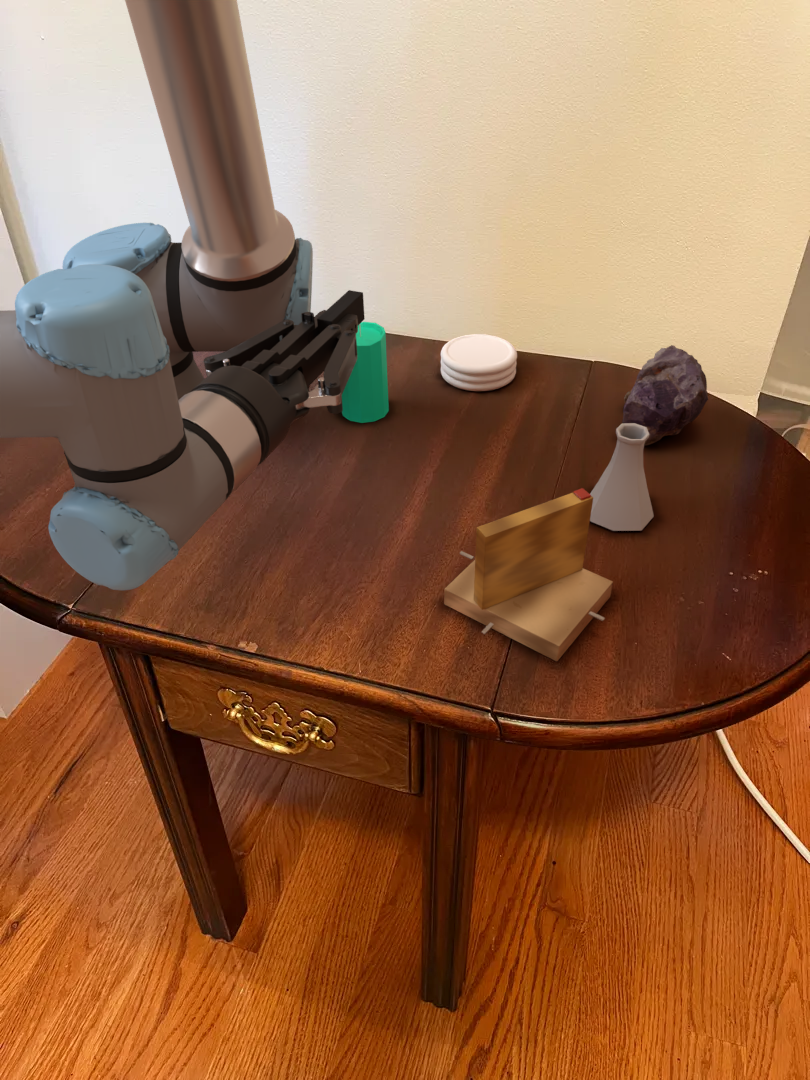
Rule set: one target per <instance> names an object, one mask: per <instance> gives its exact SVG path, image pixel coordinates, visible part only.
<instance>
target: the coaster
mask: <svg viewBox="0 0 810 1080" xmlns="http://www.w3.org/2000/svg"><path fill="white" fill-rule="evenodd" d="M517 359H518V351H517V349H516V347H515V346H514V345H513V344H512V343H511V342H510V341H508V340H507V339H504V338H503V337H501V336H497V335H493V334H485V333H473V334H464V335H460V336H457V337H454V338H452V339H450V340H448V342H446V343H445V344H444V345H443V346H442V348H441V350H440V374H441V376H442V378H443V380H444V381H445V382H447V383H448V384H449V385H451V386H452V387H454V388H457V389H459V390H465V391H469V392H489V391H494V390H498V389H500V388H503V387H505V386H507V385H508V384H510V383H511V382H512V381H513V380H514V379H515V377H516V374H517V365H518V363H517Z"/></svg>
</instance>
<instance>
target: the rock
mask: <svg viewBox="0 0 810 1080" xmlns="http://www.w3.org/2000/svg"><path fill="white" fill-rule="evenodd" d="M623 400H624V405H623V409H622V412H623V415H622V416H623V417H622V423H635V424H638V425H641V426H644V427H647V429H648V432H649V438H648V439H647V440H646V441H645V444H644V446H649V445H652V444H655V443H657V442H659V441H661V439H662V438H663V437H666V436H675V435H678V434H679V433H680V432H682V430H683V428H684V427H685V426H687V425H688V424H690V423H693V422H694V420H696V419H697V418H698V416H699V415H700V414H701V412H702V411H703V410H704V407H705V405H706V403H707V402H708V401H709V396H708V382H707V376H706V374H705V372H704V371H703V369H702V365H701V363H699V360H698V359H696V358H695V357H694V356H693V355H692V354H689V353H688V352H687V351H686V350H685V349H682V348H678V347H676V345H673V344H671V345H669V346H667V347H661V348H660V349H658V351H655V353H654V356H653V357H652V358H650V359H648V360H646V363H644V364H643V365H642V366H641V369H640V370H639V372H638V373H637V375H636V379H635V382H634V385H633V386H632V388H631V389H630V390H629V391H627V392H626V393H625V395H624V398H623ZM622 423H621V424H622Z"/></svg>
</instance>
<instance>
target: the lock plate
mask: <svg viewBox="0 0 810 1080" xmlns="http://www.w3.org/2000/svg"><path fill="white" fill-rule="evenodd" d="M459 555H461V556H463V557H465V558H466V559H468V560H469V559H470V560H473V559H474V560H473V561H472V562H470V564H468V566H466V568H465V569H463V570H462V571H461V572H460V573H459V574H458V575H457V576H456V577H455V578H454V579H453V580H452V581H451V582H450V583H449V584H448V585H447V586H446V587H444V590H443V604H444V605H445V606H446V607H449V608H451V609H453V610H455V611H457V612H459V613H460V614H463V615H465V616H466V617H469V618H470V619H472V620H474V621H477V622H478V623H480V624H482V625H484V626H485V627H484V628H483V629H482V631H481V634H483V635H486V634H488V632H489V631H490V630H491V629H493V630H494V631H496V632H498V633H500V634H502V635H504V636H506V637H507V638H509V639H512V640H514V641H516V642H517V643H520V644H521V645H523V646H525V647H527V648H529V649H531V650H533V651H535V652H537V653H539V654H541V655H543V656H545V657H547V658H549V659H551V660H553V661H555V662H558V661H559V660H560V659H561V657H562V656H563V655H564V654H565V653H566V652H567V650H568V649H569V648H570V646H571V645H572V644H573V643H574V642H575V641H576V639H577V638H578V637H579V636H580V634H582V632H583V631H584V629H585V628H586V627H587V626H588V625H589V623H590V622H591V621H592V620H593V619H597V620H599V621H601V622H603V621H605V619H606V617H604V616H602V615H600V614H598V613H599V611H600V610H601V609H602V607H603V606H604V605H605V604H606V603H607V602H608V601H609V599H610V598H611V594H612V590H613V584H614V581H613V580H610V579H608V578H606V577H604V576H601V575H599V574H597V573H595V572H593V571H590V570H588V569H585V568H584V567H583V569H582V570H581V571H578V572H576V573H573V574H571V575H568V576H566V577H563V578H561V579H558V580H556V581H553V582H551V583H548V584H546V585H543V586H541V587H538V588H536V589H533V590H531V591H528V592H526V593H523V594H521V595H518V596H516V597H513V598H511V599H508V600H506V601H503V602H501V603H498V604H496V605H493V606H491V607H488V608H486V609H483V610H482V609H481V608H480V607H479V606H478V605H477V603H476V602H475V601H474V577H475V555H474V556H473V555H471V554H469V553H467V552H465V551H464V550H463V551H462V550H461V551H460V552H459Z"/></svg>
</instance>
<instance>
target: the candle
mask: <svg viewBox="0 0 810 1080" xmlns="http://www.w3.org/2000/svg"><path fill="white" fill-rule="evenodd" d="M386 333H387V332H386V329H385V327H383V326H382V325H380V324H378V323H377V322H373V321H371V322H370V321H362V322H361V323H360V324H359V325H358V332H357V333H356V342H357V361H356V363H355V366H354V368H353V370H352V373H351V375H350V377H349V379H348V382H347V384H346V386H345V389H344V391H343V393H342V407H343V411H342V412H341V414H342V415H341V416H342V417H344V418H345V419H347V420H348V421H350V422H355V423H359V424H364V423H373V422H376V421H379V420H381V419H383V418H385V417H386V416H387V414H388V413H389V412H390V405H389V381H388V379H389V378H388V359H387V357H388V355H387V334H386Z"/></svg>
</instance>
